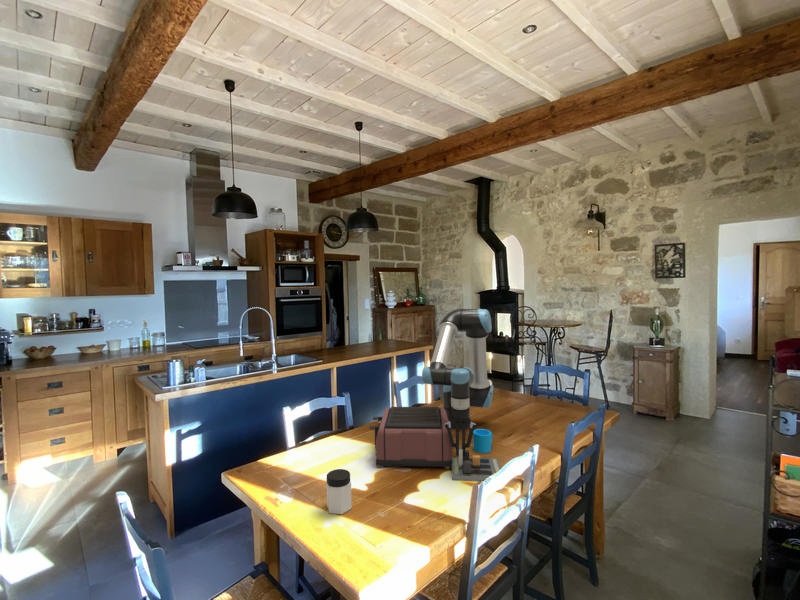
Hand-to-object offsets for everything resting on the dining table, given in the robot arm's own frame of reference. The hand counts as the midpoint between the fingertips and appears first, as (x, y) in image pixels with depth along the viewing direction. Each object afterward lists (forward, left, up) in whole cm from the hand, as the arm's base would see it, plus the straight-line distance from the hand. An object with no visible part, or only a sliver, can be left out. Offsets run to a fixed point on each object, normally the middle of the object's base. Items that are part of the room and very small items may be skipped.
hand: (460, 463), depth 167 cm
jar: (+30, -44, -3) cm, 53 cm away
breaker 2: (+5, +2, -1) cm, 6 cm away
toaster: (-16, -22, -4) cm, 27 cm away
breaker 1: (-5, +2, -1) cm, 6 cm away
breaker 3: (0, +6, -1) cm, 6 cm away
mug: (-23, +12, -3) cm, 26 cm away
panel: (0, +6, -3) cm, 7 cm away
